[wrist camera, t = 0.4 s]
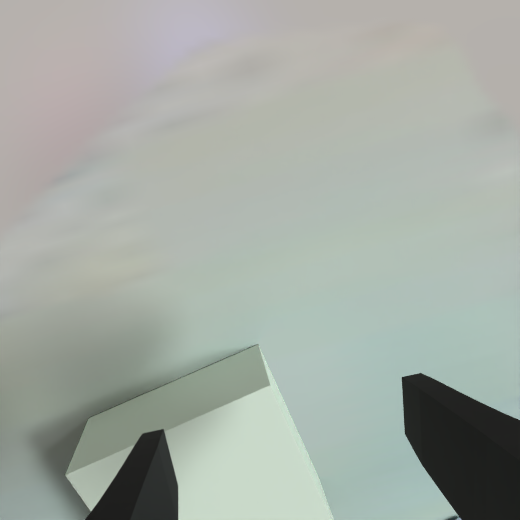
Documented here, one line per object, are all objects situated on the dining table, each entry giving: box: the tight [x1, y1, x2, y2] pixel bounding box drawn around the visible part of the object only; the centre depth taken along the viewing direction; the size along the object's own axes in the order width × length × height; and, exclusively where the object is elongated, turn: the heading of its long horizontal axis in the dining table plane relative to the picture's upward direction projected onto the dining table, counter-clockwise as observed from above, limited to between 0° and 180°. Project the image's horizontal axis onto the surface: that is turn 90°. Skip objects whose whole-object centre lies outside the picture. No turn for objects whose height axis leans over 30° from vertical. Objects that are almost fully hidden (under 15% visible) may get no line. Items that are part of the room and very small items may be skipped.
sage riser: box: [65, 345, 334, 520], centre depth 22 cm, size 10×10×4 cm
